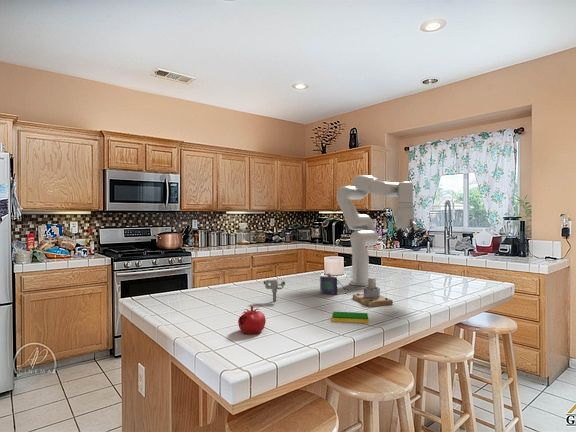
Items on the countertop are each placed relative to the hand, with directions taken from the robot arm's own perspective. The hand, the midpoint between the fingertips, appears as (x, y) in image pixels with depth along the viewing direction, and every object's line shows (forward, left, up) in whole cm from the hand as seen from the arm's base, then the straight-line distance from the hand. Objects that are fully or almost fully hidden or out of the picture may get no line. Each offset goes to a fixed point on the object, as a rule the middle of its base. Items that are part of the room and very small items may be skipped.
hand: (405, 239), depth 183 cm
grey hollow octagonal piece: (+6, -23, -26) cm, 35 cm away
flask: (-15, -36, -29) cm, 48 cm away
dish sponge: (+28, -46, -29) cm, 61 cm away
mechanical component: (-9, -67, -28) cm, 73 cm away
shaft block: (+6, -23, -28) cm, 37 cm away
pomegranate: (+29, -86, -29) cm, 95 cm away
